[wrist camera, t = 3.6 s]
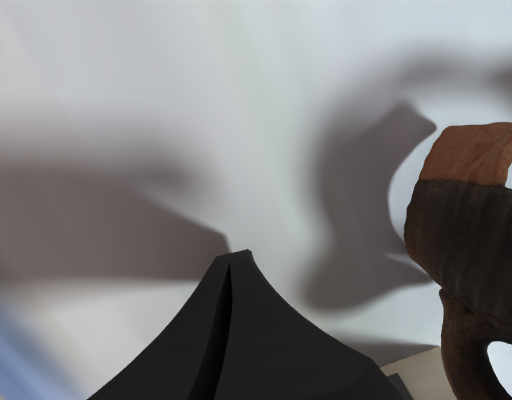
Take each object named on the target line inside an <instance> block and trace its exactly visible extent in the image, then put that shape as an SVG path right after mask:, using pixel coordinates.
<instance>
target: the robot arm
mask: <svg viewBox="0 0 512 400" xmlns="http://www.w3.org/2000/svg"><path fill="white" fill-rule="evenodd" d="M87 400H404V399H403V397H402V396H401V395H400V393H399V392H398V390H397V389H396V388H395V386H394V385H393V384H392V383H391V381H390V380H389V379H388V378H387V376H386V375H385V374H384V373H383V371H382V370H381V369H380V368H379V367H378V366H377V364H376V363H375V362H374V361H373V360H372V359H371V358H369V357H367V356H365V355H363V354H361V353H359V352H357V351H355V350H353V349H352V348H350V347H348V346H346V345H345V344H343V343H341V342H339V341H338V340H336V339H335V338H333V337H332V336H330V335H328V334H327V333H325V332H324V331H322V330H321V329H320V328H318V327H317V326H315V325H314V324H313V323H311V322H310V321H309V320H307V319H306V318H305V317H303V316H302V315H301V314H299V313H298V312H297V311H296V310H295V309H294V308H293V307H291V306H290V305H289V304H288V303H287V302H286V301H285V300H284V299H283V298H282V297H281V296H280V295H279V294H278V293H277V292H276V291H275V289H274V288H273V287H272V286H271V285H270V284H269V282H268V281H267V280H266V278H265V277H264V276H263V274H262V273H261V271H260V270H259V268H258V267H257V265H256V263H255V261H254V259H253V255H252V252H251V251H250V250H248V249H246V250H242V251H238V252H234V253H230V254H226V255H222V256H218V257H216V258H215V260H214V261H213V263H212V264H211V266H210V267H209V269H208V271H207V272H206V274H205V275H204V277H203V279H202V280H201V282H200V283H199V285H198V286H197V288H196V289H195V291H194V292H193V294H192V295H191V296H190V298H189V299H188V300H187V302H186V303H185V304H184V306H183V307H182V308H181V310H180V311H179V312H178V314H177V315H176V316H175V317H174V318H173V320H172V321H171V322H170V323H169V324H168V325H167V326H166V328H165V329H164V330H163V331H162V332H161V333H160V334H159V335H158V336H157V337H156V338H155V340H154V341H152V342H151V343H150V344H149V345H148V346H147V347H146V348H145V349H144V350H143V351H142V352H141V353H140V354H139V355H138V356H137V357H136V358H135V359H134V360H133V361H132V362H131V363H130V364H129V365H128V366H126V367H125V368H124V369H123V370H122V371H121V372H120V373H118V374H117V375H116V376H115V377H114V378H113V379H112V380H110V381H109V382H108V383H107V384H105V385H104V386H103V387H102V388H101V389H99V390H98V391H97V392H96V393H95V394H93V395H92V396H91V397H90V398H88V399H87Z"/></svg>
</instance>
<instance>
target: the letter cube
mask: <svg viewBox="0 0 512 400" xmlns="http://www.w3.org/2000/svg"><path fill="white" fill-rule="evenodd" d="M379 368H380V369H381V370H382V371H383V373H384V374H385V375H386V376H387V378H388V379H389V380H390V381H391V383H392V384H393V385H394V386H395V388H396V389H397V390H398V392H399V393H400V395H401V396H402V397H403V399H404V400H457V398H456V396H455V395H454V393H453V391H452V388H451V386H450V384H449V382H448V379H447V376H446V373H445V370H444V366H443V361H442V357H441V348H440V346H437V347H434V348H431V349H428V350H426V351H423V352H420V353H418V354H415V355H412V356H409V357H407V358H404V359H401V360H398V361H396V362H393V363H390V364H387V365H385V366H382V367H379Z"/></svg>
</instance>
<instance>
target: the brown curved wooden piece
mask: <svg viewBox="0 0 512 400" xmlns="http://www.w3.org/2000/svg"><path fill="white" fill-rule="evenodd" d="M511 163H512V123H510V122H496V123H491V124H485V125H463V126H449V127H447V128H446V129H444V130H443V132H442V133H441V135H440V137H439V138H438V139H437V140H436V141H435V143H434V144H433V146H432V148H431V151H430V153H429V154H428V156H427V157H426V159H425V162H424V165H423V168H422V170H421V172H420V175H419V180H418V181H417V183H416V184H415V187H414V191H413V194H412V198H411V202H410V204H409V205H408V207H407V217H406V222H405V225H404V240H405V243H406V248H407V251H408V254H409V256H410V258H411V259H412V260H414V261H415V262H416V263H417V264H419V265H420V266H421V267H422V269H424V270H425V271H426V272H427V273H428V274H429V276H430V277H431V278H432V279H433V280H434V281H435V282H436V283H437V284H439V285H440V286H441V287H442V289H440V290H439V296H440V299H441V301H442V304H443V308H444V317H443V324H442V332H441V357H442V361H443V366H444V370H445V373H446V376H447V379H448V382H449V384H450V386H451V388H452V391H453V393H454V395H455V396H456V398H457V400H512V397H511V396H510V395H509V394H508V393H507V391H506V390H505V389H504V388H503V386H502V385H501V384H500V382H499V380H498V378H497V377H496V375H495V373H494V371H493V368H492V366H491V363H490V361H489V357H488V354H487V348H488V345H489V344H490V343H491V342H493V341H502V342H505V343H508V344H511V345H512V189H510V188H507V187H505V183H506V180H507V175H508V168H509V166H510V165H511Z"/></svg>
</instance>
